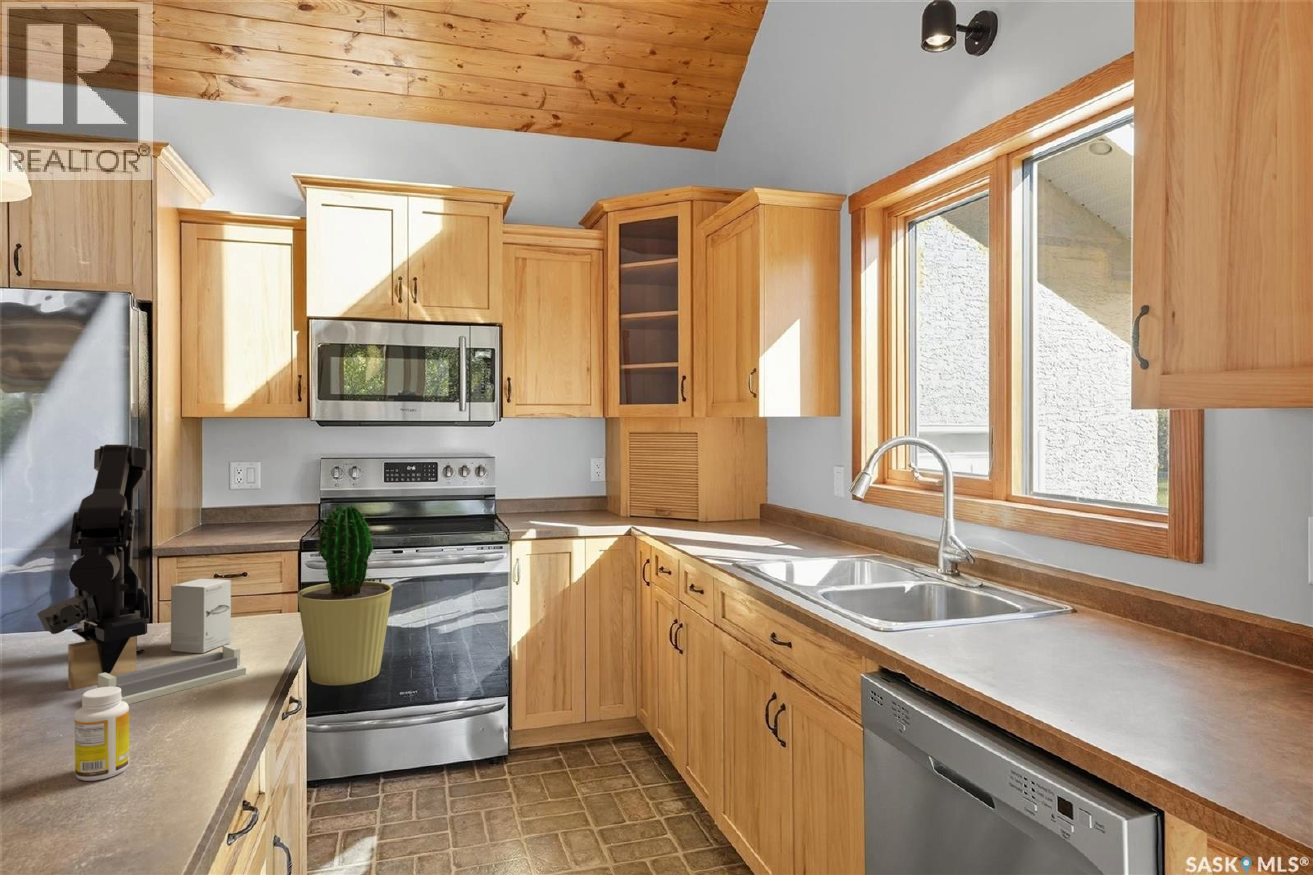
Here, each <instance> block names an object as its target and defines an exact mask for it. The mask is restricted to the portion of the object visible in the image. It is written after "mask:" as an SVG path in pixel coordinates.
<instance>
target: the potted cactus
mask: <svg viewBox="0 0 1313 875" xmlns="http://www.w3.org/2000/svg"><path fill="white" fill-rule="evenodd" d="M359 507H360V505H357V506H353V505H350V504H348V506H342V505H339V506H338V507H336V506H334V507H333V506H332V508H331V509H333V510H332V511H330V512H329V514H328V513H326V518H322V519H323V522H321V524H319V526H321V528H320V530H321V531H320V532H319V533H317V532H316V533H317V534H316V536H315V538H314V539H317V535H319V540H318V539H317V540H316V541H315V543H314V546H315V547H317V548H314V549H313V550H315V551H316V552H317V554H315V555H316V557H317V556H318V557H320V556H321V558H322V559H323V561H325V562H323V561H322V562H323V563H322V562H321V564H323V568H325V569H326V570H324V572H325V573H324V572H323V573H322V575H325V576H327V578H324V580H328V583H321V584H316V585H311V586H308V587H305V588H303V589H301V590H299V591H298V592H297V599H298V600H297V601H298V609H299V615H300V621H301V627H302V634H303V640H304V646H305V653H306V661H307V667H308V674H309V675H308V676H309V677H310V681H312V682H313V683H315V684H318V685H322V686H323V685H324V686H345V685H346V686H348V685H353V684H358V683H362V682H367V681H368V680H372V679H373V678H376V677H377V676H379V673H380V671H381V666H382V659H383V654H384V646H385V639H386V633H387V626H388V622H389V614H390V607H391V602H392V596H393V595H392V594H393V590H394V587H393V585H391V584H389V583H385V582H380V581H373V580H372V581H371V580H366V577H368V578H369V577H371V576H369V575H368V574H367V570H368V569H371V570H373V568H372V567H370V566H368V564H369V563H372V561H371V559H370V558H369V557H370V556H371V554H373V555H375V556H376V553H375V551H376V549H374V546H373V543H374V542H375V540H374V541H373V540H372V538H371V536H372V535H374V534H376V531H374V532H370V529H371V527H369V526H370V523H369V524H368V522H366V521H367V520H366V518H368V517H370V515H371V514H368V515H365V516H364V515H363V513H364V512H363V511H364V510H362V511H360V510H361V507H360V508H359ZM358 508H359V509H358ZM377 541H379V540H376V542H377ZM373 551H374V552H373ZM316 557H315V558H316ZM318 557H317V558H318ZM369 560H370V561H369Z"/></svg>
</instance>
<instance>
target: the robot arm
mask: <svg viewBox="0 0 1313 875" xmlns="http://www.w3.org/2000/svg"><path fill="white" fill-rule="evenodd" d="M93 453H94V456H93V470H95V471H97V475H96V478H95V482H94V486H93V490H92V493H90V494H89V495H87V496H85V497H84V498H82V499H81V502H80V504H79V508H78V510H77V511H75V512H74V514H73V517H72V525H71V531H70V540H69V546H68V549H69V550H80V556H79V558H78V559H77V560H76V561H74V563H73V564H72V565H71V568H70V569H69V573H68V575H69V576H68V577H69V580H70V582H71V583H72V585H73V586H74V587H75V589H74V596H73V597H70V598H68V599H64V600H62V601H59V602H57V603H56V604H52V605H51V606H49V607H46V608H44V609H42V610H40V611H38V612H37V613H36V614H37V616H38V619H39V622H40V623H41V625H42V627H43V629H44V631H45V632H49V633H50V634H51V635H56V634H60V633H62V632H64V631H65V630H66V629H67V628H70V627H71V626H74V625H76V624H77V628H74V629H71V631H72V633H74V634H75V635H78V637H80V638H81V639H83V640H84V641H89V640H91V641H93V642H94V643H96V644H97V647H98V653H99V658H100V664H101V669H102V673H105V672H106V673H111V671H112V669H113V668H114V666H115V664H116V662H117V660H118V658H119V656H120V654H121V652H122V651H123V649H124V647H125V645H126V644H127V642H128V640H129V639H130V637H135V636H136V654H139V653H144V652H146V649H145V648H144V647H141V646H139V645H138V637H140V636H143V635H146V634H148V621H147V619H149V618H151V617H150V614H151V613H150V611H151V609H150V599H149V595H148V594H147V593H146V591H145V588H144V587H142V581H141V579H140V577H139V576H138V574H137V573H136V572H135V570H134V569H133V557H134V556H133V554H134V553H133V551H134V531H135V530H134V529H135V524H136V523H135V522H136V521H135V520H136V519H135V518H136V517H135V512H136V510H135V509H136V508H135V507H136V506H135V504H136V493H137V492H138V491H139V490H140V488H141V487H142V486H143V484H144V483H145V482H146V476H147V471H150V469H151V468H150V467H151V454H150V452H149V450H148V449H146V448H145V449H144V448H143V447H142V446H133V445H131V444H104V445H100V446H99V448H97V449H96V448H95V449H94V452H93ZM79 537H80V538H79ZM69 550H68V551H69ZM138 611H139V612H138Z"/></svg>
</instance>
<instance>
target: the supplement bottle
mask: <svg viewBox="0 0 1313 875" xmlns="http://www.w3.org/2000/svg"><path fill="white" fill-rule="evenodd" d="M81 697H82V698H81V699H82V701H81V705H82V706H81V707H80V708H79V709H78V710H77V711H76V712H75V713H74V769H75V770H74V772H75V777H76V778H77V779H79V780H81V781H87V782H89V781H90V782H92V781H93V782H94V781H100V780H101V781H102V780H105V779H109V778H113V777H114V776H115V777H116V776H117V775H120V774H122V773H123V772H124V771H126V769H128V768H129V765H130V760H131V759H130V706H129V705H130V704H127V703H126V702H124V701H121V698H122V696H121V688H119V687H113V686H112V687H101V688H98V687H96V688H92V689H89V690H87V691H85V692H84V693H82V696H81Z"/></svg>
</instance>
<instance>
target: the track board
mask: <svg viewBox="0 0 1313 875" xmlns="http://www.w3.org/2000/svg"><path fill="white" fill-rule="evenodd" d="M245 674H247V667H245V666H242V665H241V648H239V647H236V646H234V645H230V644H226V645H223V646H222V651H217V652H212V653H207V654H205V655H200V656H195V657H191V658H187V659H181V660H177V661H173V662H170V663H165V664H160V665H156V666H151V667H148V668H142V669H140V670H139V669H138V670H136V671H134V672H130V673H125V674H121V675H117V676H112V675H110V674H108V673H106V672H105V673H101V674H98V685H97V688H101V687H112V686H113V687H119V688H121V696H122V698H121V701H124V702H126V703H127V704H128V705H131V704H134V703H138V702H139V703H140V702H143V701H146V700H149V699H150V700H151V699H154V698H158V697H161V696H165V695H171V694H173V693H176V692H181V691H184V690H189V689H192V688H196V687H199V686H200V687H201V686H203V685H207V684H211V683H215V682H218V681H223V680H226V679H227V680H228V679H230V678H233V677H238V676H241V675H245Z"/></svg>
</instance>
